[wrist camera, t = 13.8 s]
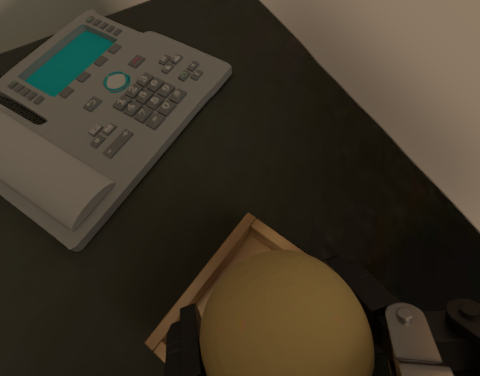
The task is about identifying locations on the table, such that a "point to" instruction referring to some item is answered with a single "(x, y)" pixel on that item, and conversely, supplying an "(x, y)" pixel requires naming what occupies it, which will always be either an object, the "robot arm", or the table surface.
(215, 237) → the table surface
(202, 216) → the table surface
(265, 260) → the light bulb
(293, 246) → the tray
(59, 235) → the office telephone
